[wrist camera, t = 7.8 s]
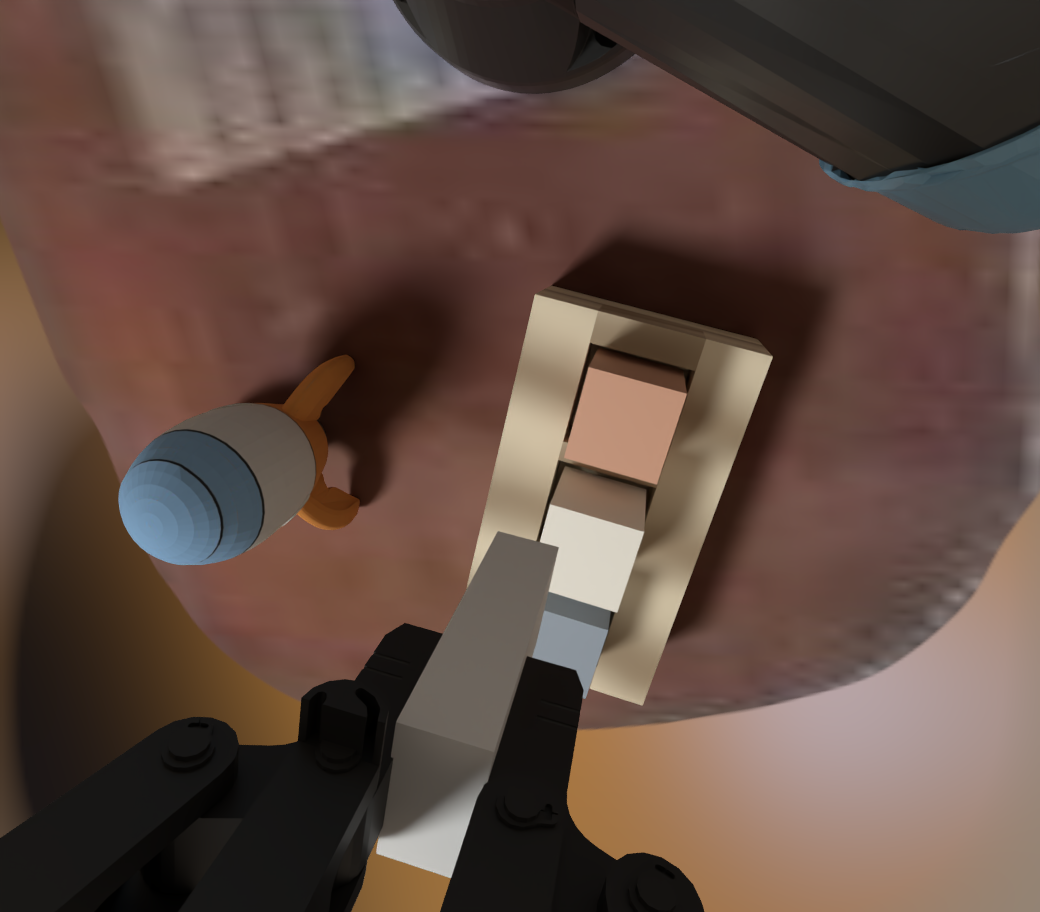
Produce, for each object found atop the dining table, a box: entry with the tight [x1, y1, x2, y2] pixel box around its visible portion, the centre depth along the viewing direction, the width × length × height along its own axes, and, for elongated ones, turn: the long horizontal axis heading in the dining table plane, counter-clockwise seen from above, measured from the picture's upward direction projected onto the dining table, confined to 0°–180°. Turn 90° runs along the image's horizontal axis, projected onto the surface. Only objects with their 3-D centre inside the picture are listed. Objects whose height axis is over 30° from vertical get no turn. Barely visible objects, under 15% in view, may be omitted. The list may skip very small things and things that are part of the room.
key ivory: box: [540, 466, 646, 613], centre depth 32 cm, size 4×4×5 cm
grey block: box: [532, 592, 611, 699], centre depth 35 cm, size 4×4×5 cm
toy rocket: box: [119, 355, 360, 565], centre depth 36 cm, size 10×11×15 cm
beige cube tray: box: [466, 286, 773, 705], centre depth 36 cm, size 20×11×5 cm, turn 167°
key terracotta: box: [564, 347, 687, 485], centre depth 31 cm, size 4×4×5 cm
